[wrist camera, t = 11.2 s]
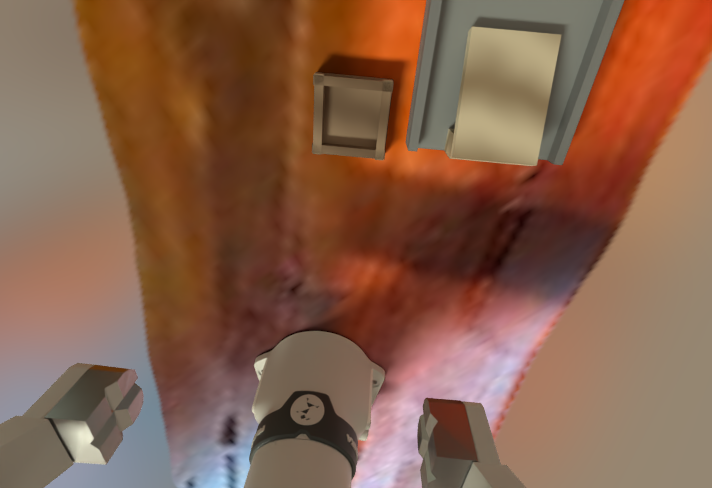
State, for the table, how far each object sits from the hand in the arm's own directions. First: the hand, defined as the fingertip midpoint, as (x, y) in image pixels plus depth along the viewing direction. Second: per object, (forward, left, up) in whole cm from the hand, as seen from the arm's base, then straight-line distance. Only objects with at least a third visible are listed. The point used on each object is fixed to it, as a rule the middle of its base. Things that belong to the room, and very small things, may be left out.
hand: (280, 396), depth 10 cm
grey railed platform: (+8, -12, -29) cm, 33 cm away
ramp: (+6, -13, -27) cm, 30 cm away
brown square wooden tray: (+3, 0, -29) cm, 29 cm away
